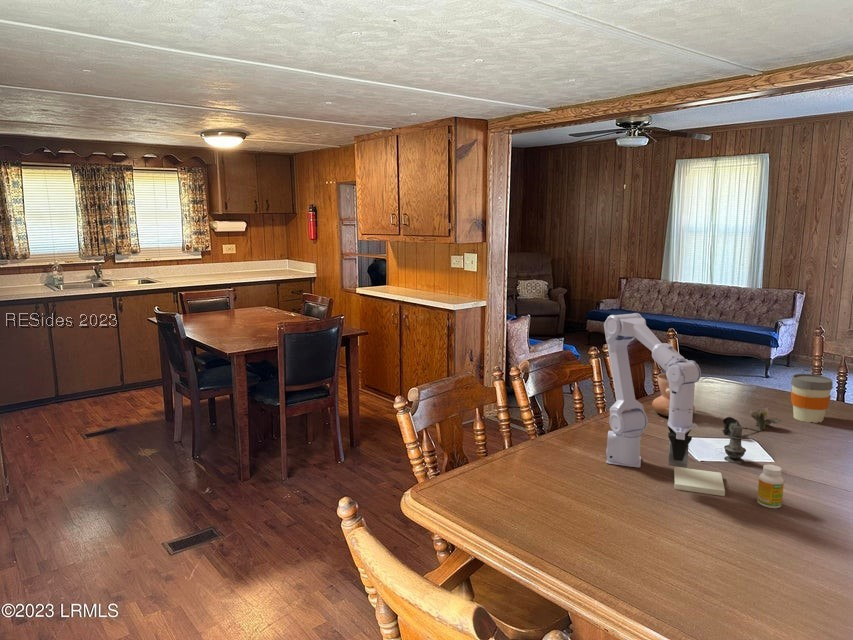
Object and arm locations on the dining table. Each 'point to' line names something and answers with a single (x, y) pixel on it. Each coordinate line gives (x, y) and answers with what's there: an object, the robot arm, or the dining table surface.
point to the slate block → (675, 462)
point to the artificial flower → (756, 415)
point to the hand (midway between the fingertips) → (678, 456)
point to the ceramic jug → (663, 396)
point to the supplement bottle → (770, 487)
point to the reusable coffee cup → (810, 396)
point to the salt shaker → (735, 445)
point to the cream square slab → (699, 481)
